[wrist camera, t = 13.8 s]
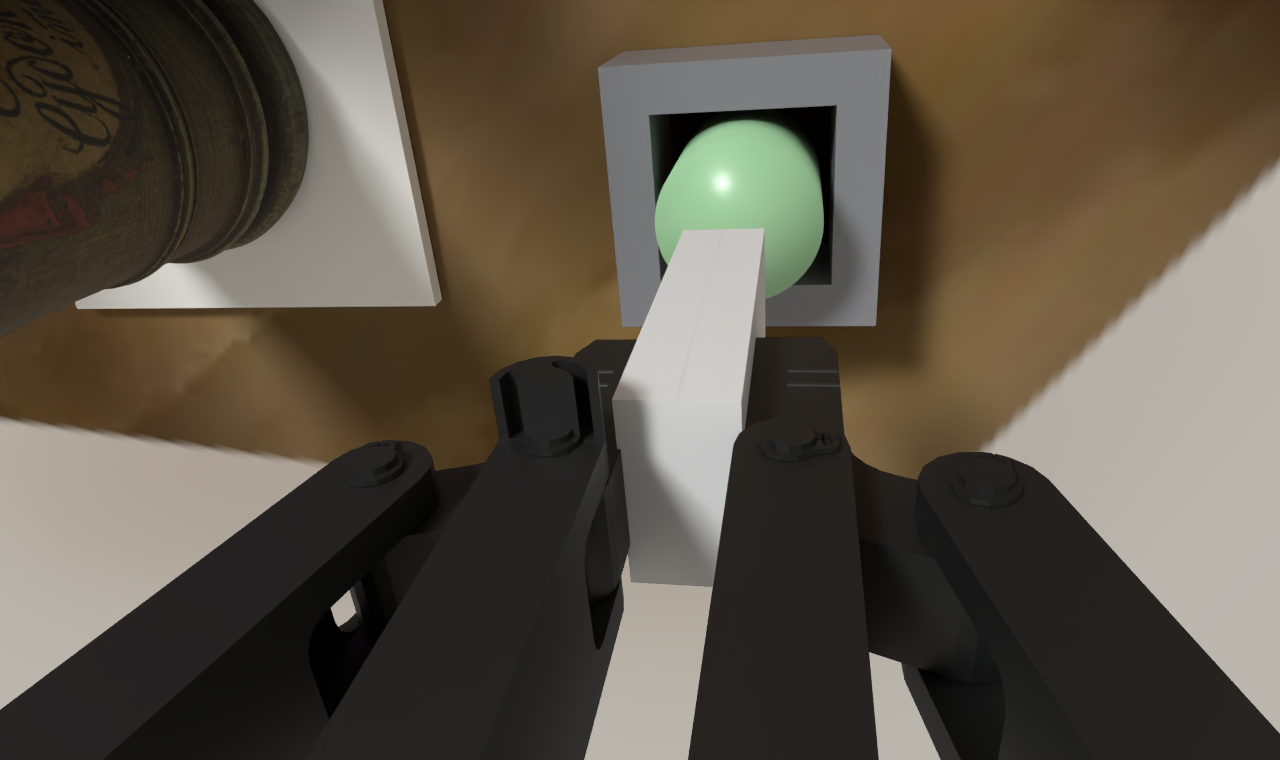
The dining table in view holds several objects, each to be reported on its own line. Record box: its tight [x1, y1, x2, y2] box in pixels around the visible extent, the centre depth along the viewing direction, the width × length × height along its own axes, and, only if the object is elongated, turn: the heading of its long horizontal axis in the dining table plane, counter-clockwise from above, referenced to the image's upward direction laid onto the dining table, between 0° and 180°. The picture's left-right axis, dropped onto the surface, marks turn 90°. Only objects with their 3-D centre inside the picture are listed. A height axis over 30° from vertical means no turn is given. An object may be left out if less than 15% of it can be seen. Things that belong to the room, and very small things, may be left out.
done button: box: [655, 109, 824, 299], centre depth 22 cm, size 4×4×4 cm
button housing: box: [598, 34, 892, 327], centre depth 23 cm, size 7×7×4 cm
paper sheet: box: [75, 0, 442, 309], centre depth 26 cm, size 14×14×1 cm
